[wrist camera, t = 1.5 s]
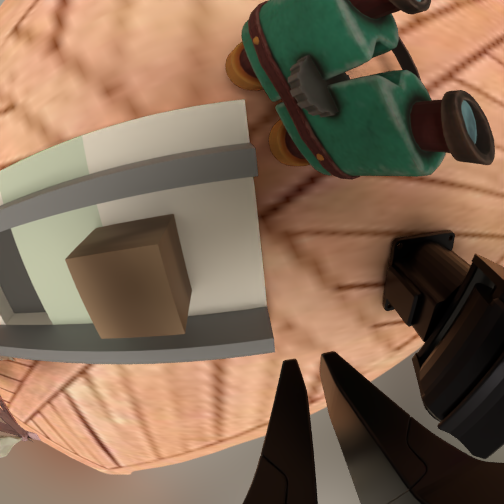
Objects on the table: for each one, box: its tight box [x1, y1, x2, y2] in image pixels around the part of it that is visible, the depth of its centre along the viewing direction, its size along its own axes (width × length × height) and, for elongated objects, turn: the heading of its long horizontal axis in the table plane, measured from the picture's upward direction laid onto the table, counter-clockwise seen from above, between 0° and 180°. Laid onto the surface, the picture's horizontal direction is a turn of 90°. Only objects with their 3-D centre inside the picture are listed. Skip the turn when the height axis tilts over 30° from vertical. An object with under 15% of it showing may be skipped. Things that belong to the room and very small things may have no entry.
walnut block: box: [65, 214, 192, 339], centre depth 14 cm, size 5×5×4 cm
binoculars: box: [225, 0, 495, 179], centre depth 9 cm, size 9×11×10 cm
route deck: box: [0, 99, 275, 364], centre depth 15 cm, size 25×16×5 cm, turn 96°
